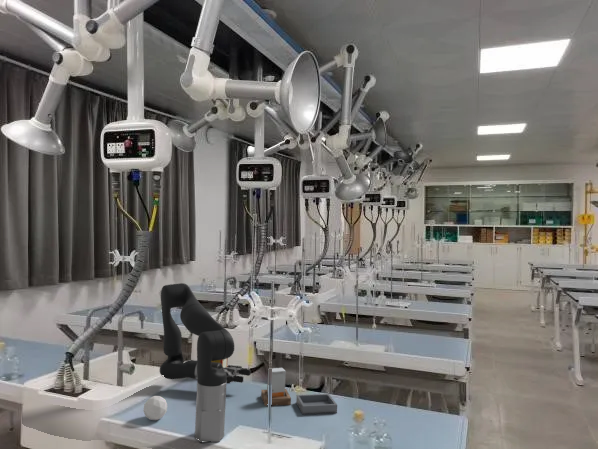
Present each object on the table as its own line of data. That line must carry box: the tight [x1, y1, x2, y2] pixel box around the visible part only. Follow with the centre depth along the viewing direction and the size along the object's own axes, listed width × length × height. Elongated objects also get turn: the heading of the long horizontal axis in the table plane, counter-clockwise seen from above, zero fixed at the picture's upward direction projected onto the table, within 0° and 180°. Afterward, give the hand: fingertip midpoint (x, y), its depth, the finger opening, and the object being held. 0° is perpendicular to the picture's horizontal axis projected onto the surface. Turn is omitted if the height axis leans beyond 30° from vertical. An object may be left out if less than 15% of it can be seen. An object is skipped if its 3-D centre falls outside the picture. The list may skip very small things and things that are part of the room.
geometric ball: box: [142, 395, 168, 421], centre depth 153 cm, size 8×8×8 cm
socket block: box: [260, 388, 292, 407], centre depth 175 cm, size 10×10×2 cm
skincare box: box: [266, 367, 287, 397], centre depth 175 cm, size 6×4×12 cm
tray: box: [295, 393, 338, 416], centre depth 169 cm, size 11×13×3 cm
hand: (246, 376), depth 177 cm, fingers open, 8 cm apart
